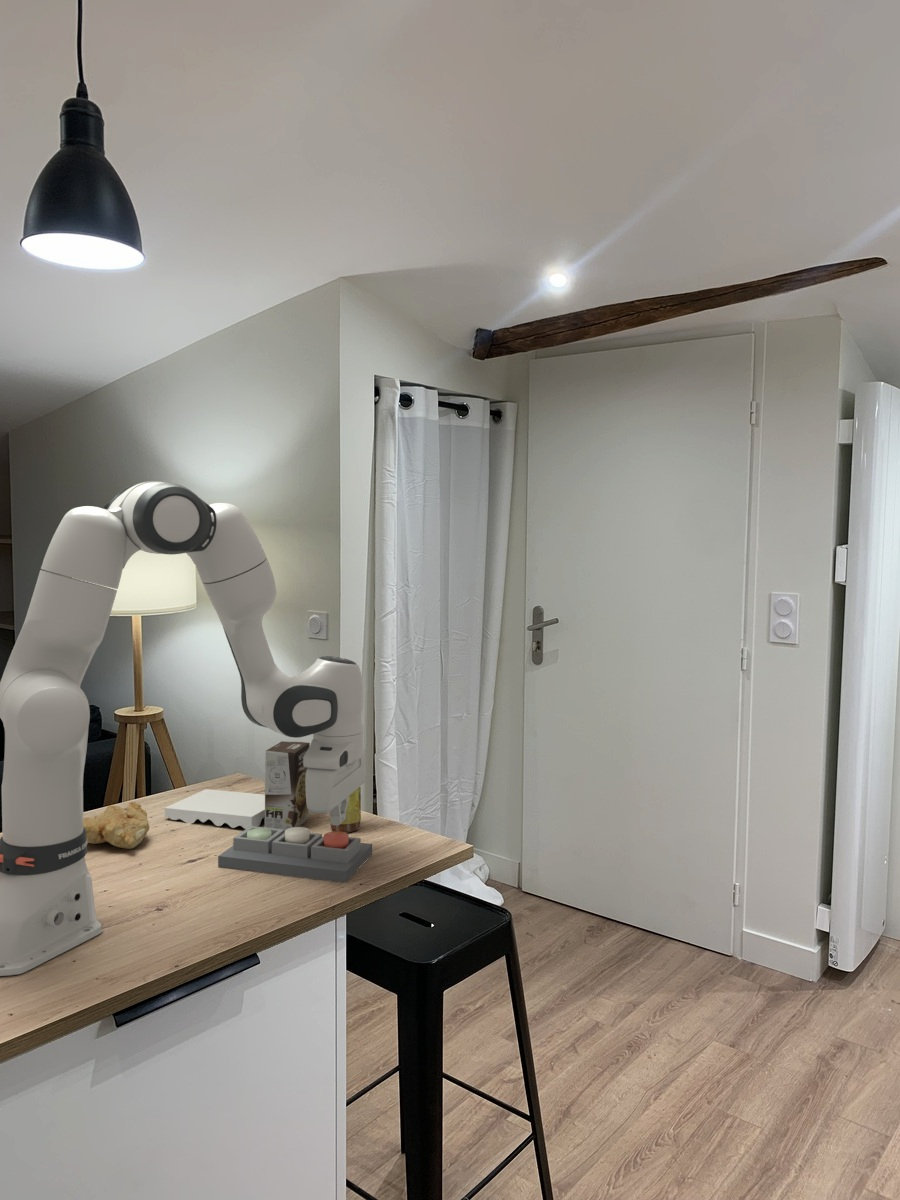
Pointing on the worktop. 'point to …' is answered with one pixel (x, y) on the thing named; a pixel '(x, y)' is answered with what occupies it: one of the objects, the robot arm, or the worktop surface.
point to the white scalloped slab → (220, 808)
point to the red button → (336, 839)
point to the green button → (259, 833)
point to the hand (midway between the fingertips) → (338, 822)
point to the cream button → (297, 835)
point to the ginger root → (118, 826)
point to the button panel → (295, 856)
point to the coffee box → (285, 785)
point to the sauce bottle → (351, 814)
